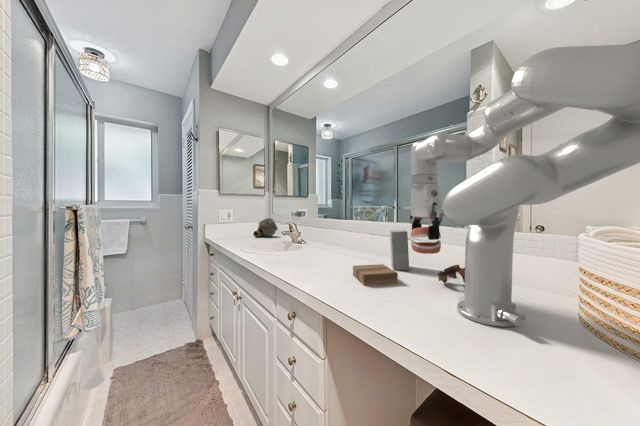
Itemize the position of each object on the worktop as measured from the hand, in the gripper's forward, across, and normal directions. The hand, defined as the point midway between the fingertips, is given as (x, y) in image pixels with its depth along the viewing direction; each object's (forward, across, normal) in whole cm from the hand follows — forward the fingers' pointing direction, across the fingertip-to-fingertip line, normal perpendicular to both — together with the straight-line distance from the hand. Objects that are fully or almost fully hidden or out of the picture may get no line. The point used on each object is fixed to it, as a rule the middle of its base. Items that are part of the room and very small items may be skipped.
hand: (424, 237), depth 78 cm
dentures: (+5, -1, 0) cm, 5 cm away
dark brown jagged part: (+17, +1, -12) cm, 21 cm away
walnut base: (+17, +14, +11) cm, 24 cm away
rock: (+14, +135, +56) cm, 147 cm away
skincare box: (+16, +26, -5) cm, 31 cm away
